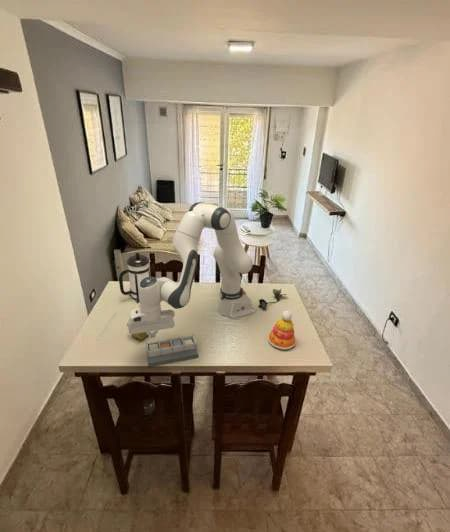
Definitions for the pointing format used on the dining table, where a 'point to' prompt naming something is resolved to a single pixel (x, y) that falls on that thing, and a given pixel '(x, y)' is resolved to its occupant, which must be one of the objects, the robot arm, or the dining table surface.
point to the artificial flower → (264, 304)
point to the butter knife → (101, 334)
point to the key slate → (176, 342)
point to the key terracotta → (165, 345)
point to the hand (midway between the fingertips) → (152, 337)
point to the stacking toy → (283, 332)
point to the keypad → (172, 351)
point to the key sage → (153, 347)
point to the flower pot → (140, 335)
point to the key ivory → (188, 341)
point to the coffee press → (135, 274)
